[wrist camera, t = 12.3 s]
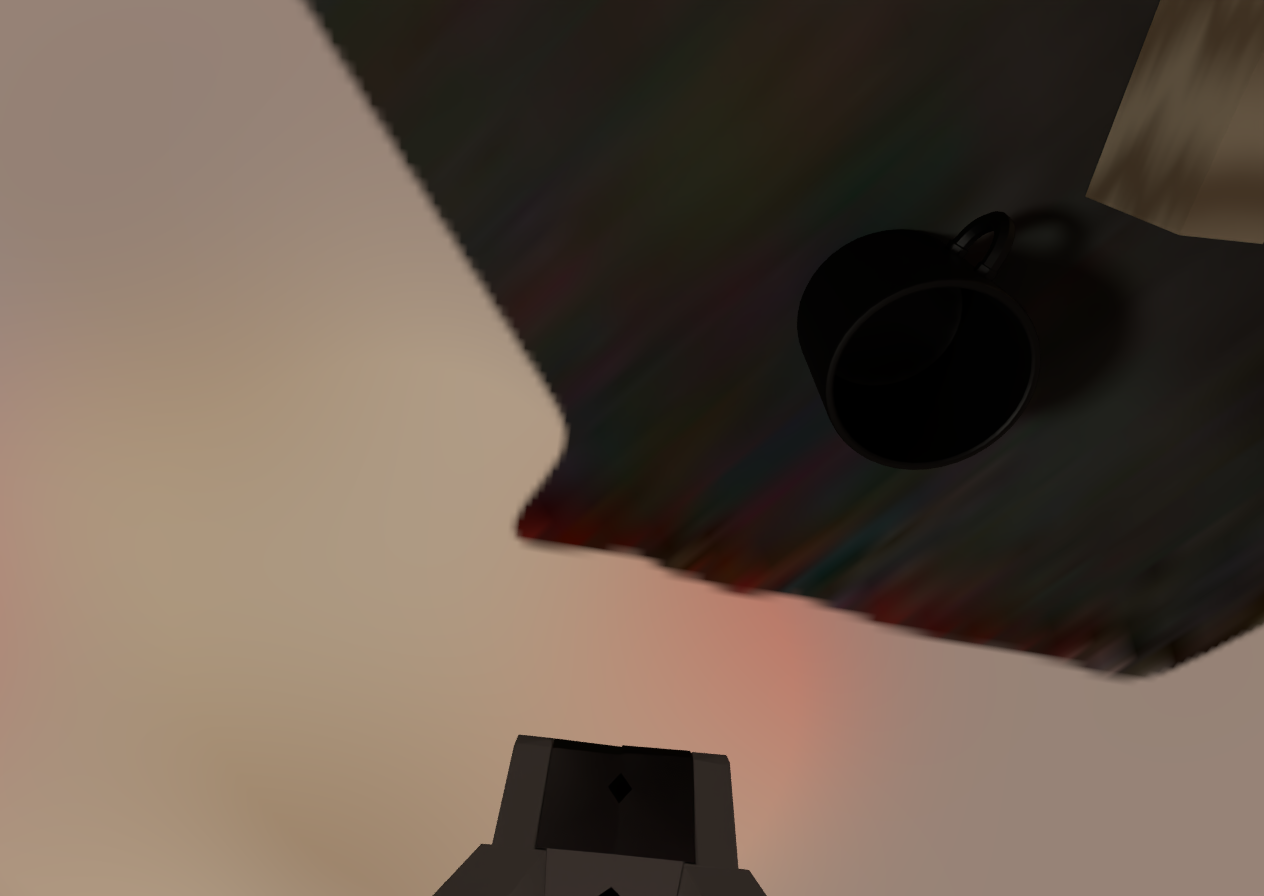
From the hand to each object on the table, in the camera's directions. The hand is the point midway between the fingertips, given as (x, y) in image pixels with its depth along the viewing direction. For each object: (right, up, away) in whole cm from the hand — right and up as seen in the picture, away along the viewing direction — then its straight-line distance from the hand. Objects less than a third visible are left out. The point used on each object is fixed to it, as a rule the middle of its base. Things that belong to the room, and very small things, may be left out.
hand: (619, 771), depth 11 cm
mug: (+15, +13, +30) cm, 36 cm away
